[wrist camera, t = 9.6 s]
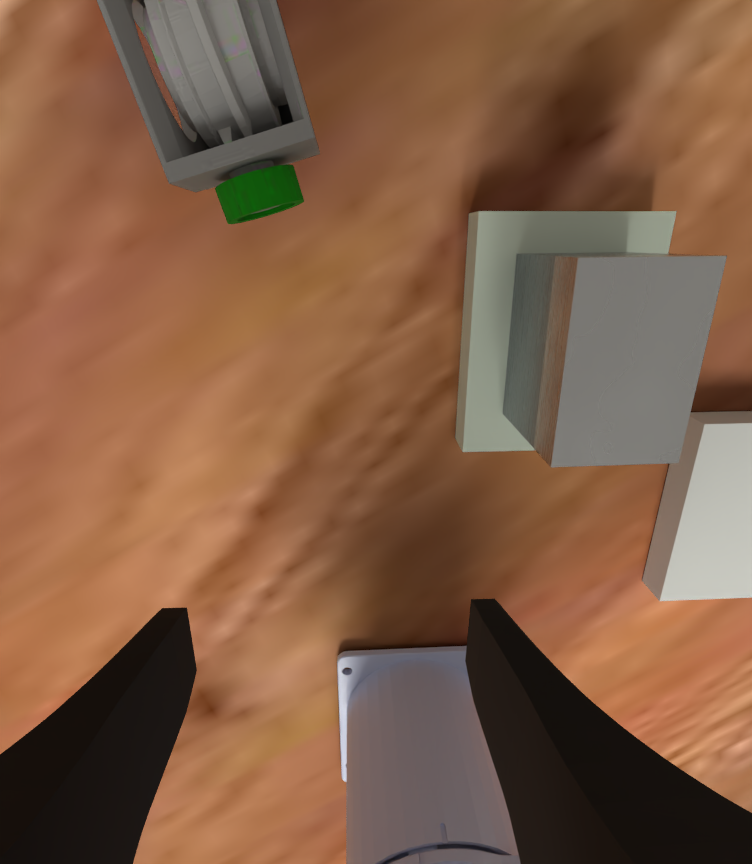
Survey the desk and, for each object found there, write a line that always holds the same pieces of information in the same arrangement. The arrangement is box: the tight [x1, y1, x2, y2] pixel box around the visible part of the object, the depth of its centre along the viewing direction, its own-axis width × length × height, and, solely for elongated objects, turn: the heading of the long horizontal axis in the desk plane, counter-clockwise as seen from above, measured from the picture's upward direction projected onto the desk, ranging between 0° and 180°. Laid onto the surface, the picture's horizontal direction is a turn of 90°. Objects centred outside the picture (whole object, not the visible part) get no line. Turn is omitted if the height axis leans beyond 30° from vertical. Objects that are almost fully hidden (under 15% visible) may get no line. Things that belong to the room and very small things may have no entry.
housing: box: [503, 252, 727, 467], centre depth 16 cm, size 6×4×5 cm, turn 1°
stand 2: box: [642, 411, 752, 601], centre depth 23 cm, size 9×7×2 cm
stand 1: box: [455, 211, 677, 452], centre depth 19 cm, size 9×7×2 cm
